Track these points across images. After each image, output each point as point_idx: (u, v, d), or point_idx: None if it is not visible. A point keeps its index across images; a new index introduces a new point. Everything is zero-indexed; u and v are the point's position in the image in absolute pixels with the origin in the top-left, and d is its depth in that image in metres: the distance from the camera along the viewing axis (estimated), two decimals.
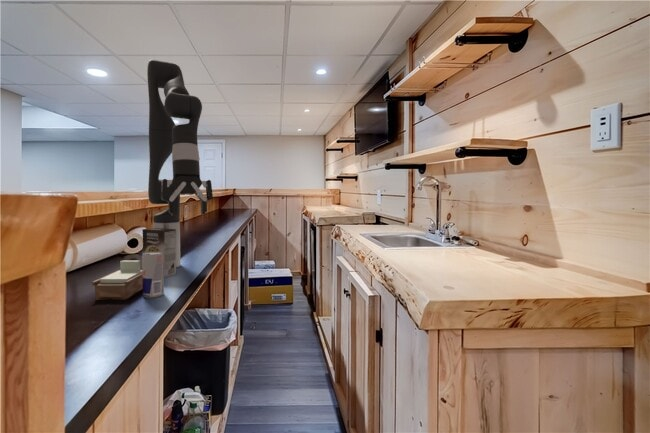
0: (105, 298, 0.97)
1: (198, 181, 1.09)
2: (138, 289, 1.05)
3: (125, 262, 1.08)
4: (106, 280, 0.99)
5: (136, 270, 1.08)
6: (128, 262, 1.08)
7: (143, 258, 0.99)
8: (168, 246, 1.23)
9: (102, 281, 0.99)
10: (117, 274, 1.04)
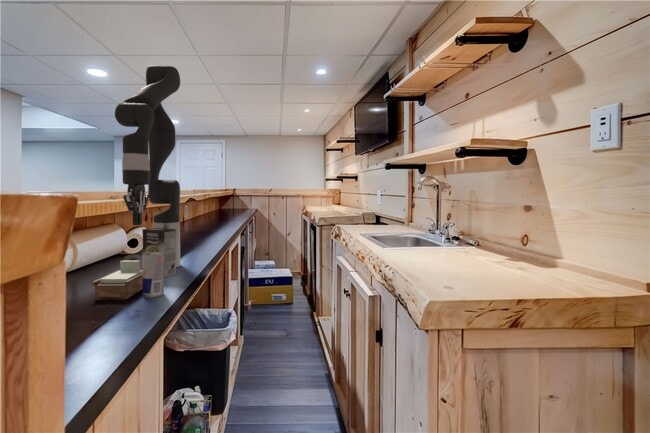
0: (105, 298, 0.97)
1: None
2: (138, 289, 1.05)
3: (125, 262, 1.08)
4: (106, 280, 0.99)
5: (136, 270, 1.08)
6: (128, 262, 1.08)
7: (143, 258, 0.99)
8: (168, 246, 1.23)
9: (102, 281, 0.99)
10: (117, 274, 1.04)
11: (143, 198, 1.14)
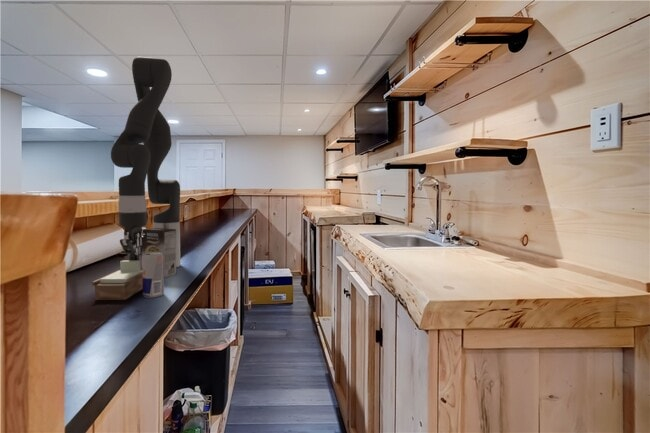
0: (105, 298, 0.97)
1: None
2: (138, 289, 1.05)
3: (125, 262, 1.08)
4: (106, 280, 0.99)
5: (136, 270, 1.08)
6: (128, 262, 1.08)
7: (143, 258, 0.99)
8: (168, 246, 1.23)
9: (102, 281, 0.99)
10: (117, 274, 1.04)
11: (140, 239, 1.12)
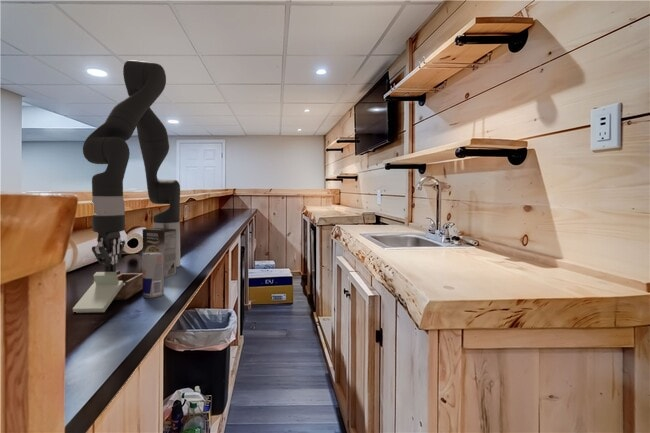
0: None
1: None
2: (138, 289, 1.05)
3: (99, 276, 0.94)
4: (80, 309, 0.87)
5: (114, 283, 0.95)
6: (103, 276, 0.94)
7: (143, 258, 0.99)
8: (168, 246, 1.23)
9: (75, 310, 0.87)
10: (92, 294, 0.91)
11: (117, 246, 0.97)
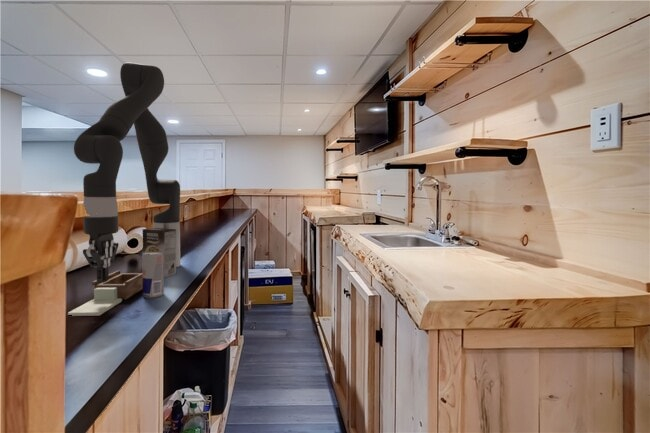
0: None
1: None
2: (138, 289, 1.05)
3: (99, 290, 0.94)
4: (75, 314, 0.85)
5: (112, 299, 0.94)
6: (103, 290, 0.94)
7: (143, 258, 0.99)
8: (168, 246, 1.23)
9: None
10: (89, 305, 0.90)
11: (110, 249, 0.94)
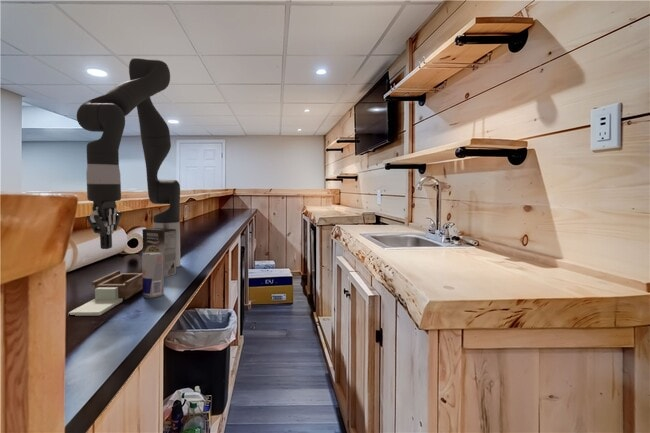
0: None
1: None
2: (138, 289, 1.05)
3: (100, 290, 0.94)
4: (75, 314, 0.85)
5: (113, 299, 0.94)
6: (104, 290, 0.94)
7: (143, 258, 0.99)
8: (168, 246, 1.23)
9: None
10: (90, 305, 0.90)
11: (113, 217, 0.95)
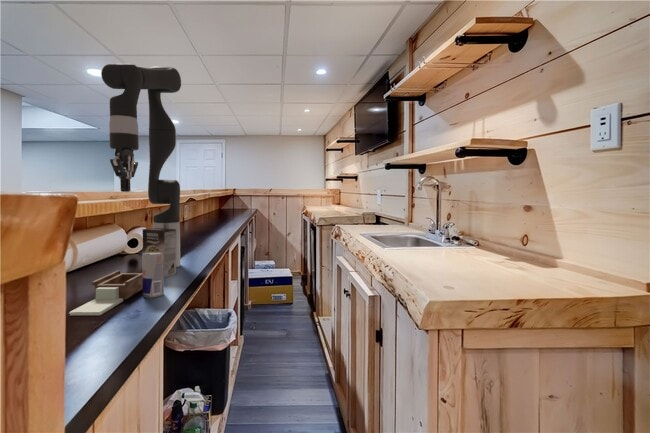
0: None
1: None
2: (138, 289, 1.05)
3: (101, 290, 0.94)
4: (76, 313, 0.85)
5: (114, 299, 0.95)
6: (105, 290, 0.94)
7: (143, 258, 0.99)
8: (168, 246, 1.23)
9: (71, 314, 0.85)
10: (91, 304, 0.91)
11: (131, 164, 1.09)
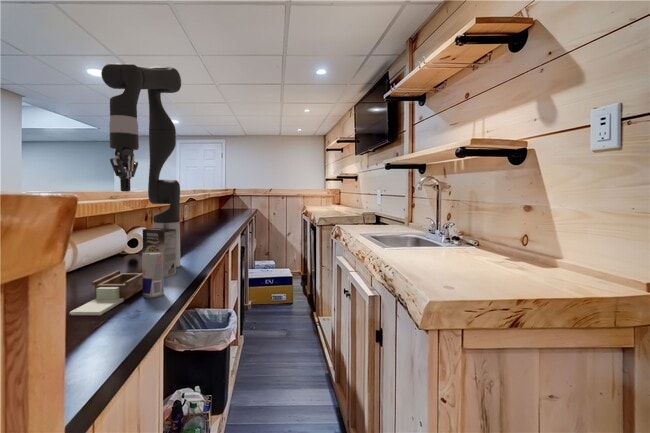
0: None
1: None
2: (138, 289, 1.05)
3: (102, 289, 0.94)
4: (76, 313, 0.85)
5: (114, 299, 0.95)
6: (105, 289, 0.94)
7: (143, 258, 0.99)
8: (168, 246, 1.23)
9: (72, 314, 0.85)
10: (91, 304, 0.91)
11: (131, 164, 1.09)
